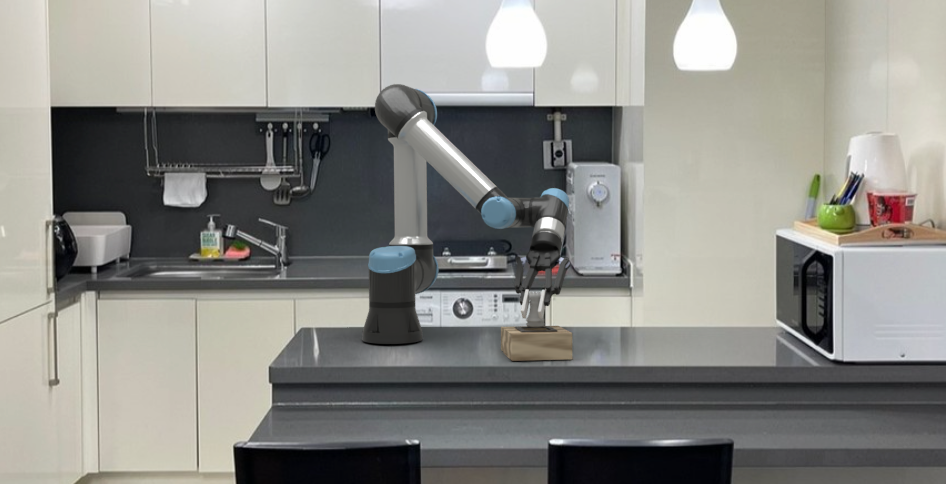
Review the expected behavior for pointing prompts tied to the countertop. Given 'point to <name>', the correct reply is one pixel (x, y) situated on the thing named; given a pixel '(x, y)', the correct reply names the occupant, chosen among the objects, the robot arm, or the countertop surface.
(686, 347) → the countertop surface
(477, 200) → the robot arm
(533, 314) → the rook chess piece
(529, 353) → the socket block
